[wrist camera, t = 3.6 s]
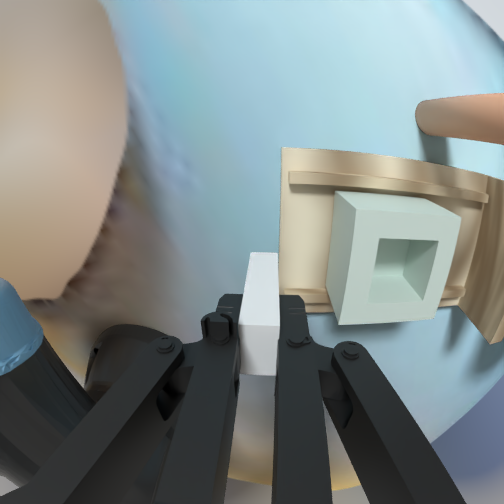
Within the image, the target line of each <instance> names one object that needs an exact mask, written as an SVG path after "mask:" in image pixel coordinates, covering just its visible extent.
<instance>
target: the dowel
mask: <svg viewBox="0 0 504 504" xmlns="http://www.w3.org/2000/svg"><path fill="white" fill-rule="evenodd" d="M415 118H416V122H417V124H418V126H419V128H420V129H421V130H422V132H424V133H425V134H427V135H430V136H440V137H451V138H460V139H468V140H476V141H483V142H489V143H495V144H501V145H504V93H494V94H478V95H466V96H456V97H447V98H439V99H432V100H425V101H422V102H420V103H419V104H418V106H417V108H416V111H415Z"/></svg>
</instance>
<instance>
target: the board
mask: <svg viewBox="0 0 504 504" xmlns="http://www.w3.org/2000/svg"><path fill="white" fill-rule="evenodd" d="M335 191H350V192H365V193H377V194H389V195H399V196H409V197H418V198H425V199H427V200H429V201H431V202H433V203H435V204H437V205H439V206H441V207H443V208H445V209H446V210H448V211H450V212H452V213H454V214H456V215H458V216H459V217H461V223H460V229H459V233H458V238H457V243H456V247H455V251H454V255H453V259H452V263H451V267H450V270H449V274H448V277H447V281H446V284H445V287H444V290H443V293H442V296H441V300H440V302H439V305H438V307H442V306H453V305H458V306H459V307H460V309H461V310H462V311H463V312H464V313H465V314H466V316H467V317H468V318H469V319H470V320H471V322H472V323H473V324H474V325H475V326H476V328H477V329H478V330H479V331H480V333H481V334H482V335H483V336H484V338H485V339H486V340H487V341H488V343H489V344H493V343H497V342H500V341H502V339H503V337H504V180H501V179H498V178H495V177H492V176H488V175H484V174H480V173H476V172H472V171H468V170H464V169H459V168H455V167H450V166H445V165H440V164H435V163H430V162H425V161H419V160H413V159H407V158H400V157H393V156H386V155H378V154H370V153H361V152H351V151H340V150H327V149H311V148H287V147H281V196H280V233H279V262H278V278H279V295H299V296H300V297H301V298H302V299H303V300H304V303H305V310H306V312H334V309H333V306H332V303H331V300H330V297H329V294H328V291H327V288H326V277H327V269H328V261H329V252H330V243H331V233H332V222H333V210H334V196H335Z"/></svg>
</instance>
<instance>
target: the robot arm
mask: <svg viewBox="0 0 504 504" xmlns="http://www.w3.org/2000/svg"><path fill="white" fill-rule="evenodd" d="M201 327H202V334H203V339H202V340H200V341H198V342H194V343H188V344H182V342H181V341H180V340H179V339H178V338H176V337H174V336H167V335H165V334H163V333H161V332H159V331H156V330H154V329H151V328H147V327H143V326H139V325H131V324H123V325H116V326H113V327H110V328H108V329H106V330H105V331H104V332H103V333H102V334H101V335H100V337H99V338H98V339H97V341H96V342H95V344H94V345H93V347H92V350H91V353H90V358H89V362H88V367H87V372H86V377H85V383H84V389H83V387H82V386H81V385H80V384H79V383H78V381H77V380H76V379H75V378H74V376H73V375H72V374H71V373H70V371H69V370H68V369H67V367H66V366H65V365H64V363H63V362H62V361H61V359H60V358H59V357H58V355H57V354H56V352H55V351H54V349H53V348H52V347H51V345H50V344H49V342H48V341H47V339H46V338H45V336H44V334H43V329H42V327H41V325H40V324H39V323H38V322H37V320H36V319H34V318H33V317H32V316H31V314H30V313H29V311H28V310H27V308H26V307H25V305H24V303H23V302H22V300H21V299H20V297H19V295H18V294H17V292H16V290H15V289H14V287H13V286H12V285H11V284H10V283H9V282H8V281H6V280H4V279H3V278H0V476H4V477H6V478H7V479H8V480H10V481H11V482H13V483H14V484H15V485H17V486H18V487H19V488H18V489H16V490H13V491H11V492H9V493H7V494H5V495H3V496H0V504H224V497H225V490H226V483H227V475H228V468H229V461H230V453H231V446H232V438H233V431H234V423H235V416H236V408H237V401H238V393H239V385H240V381H239V374H247V375H275V376H276V382H275V394H274V396H275V421H274V455H273V481H272V502H271V504H333V503H332V489H331V477H330V465H329V455H328V445H327V436H326V427H325V418H324V410H323V402H322V398H323V401H324V404H325V406H326V408H327V410H328V412H329V415H330V417H331V419H332V421H333V423H334V426H335V428H336V430H337V432H338V434H339V437H340V439H341V441H342V443H343V445H344V448H345V450H346V452H347V454H348V456H349V459H350V461H351V463H352V465H353V467H354V470H355V472H356V474H357V476H358V478H359V481H360V483H361V485H362V487H363V489H364V492H365V494H366V496H367V498H368V501H369V503H370V504H466V502H465V501H464V499H463V497H462V495H461V494H460V492H459V491H458V489H457V487H456V485H455V484H454V482H453V480H452V479H451V477H450V475H449V474H448V472H447V470H446V469H445V467H444V465H443V464H442V462H441V460H440V459H439V457H438V456H437V454H436V452H435V451H434V449H433V448H432V446H431V445H430V443H429V441H428V440H427V438H426V437H425V435H424V434H423V432H422V431H421V429H420V427H419V426H418V424H417V423H416V421H415V420H414V418H413V417H412V415H411V414H410V412H409V411H408V409H407V408H406V406H405V405H404V403H403V402H402V400H401V399H400V397H399V396H398V394H397V393H396V391H395V390H394V389H393V387H392V386H391V384H390V383H389V381H388V380H387V378H386V377H385V375H384V374H383V373H382V371H381V370H380V368H379V367H378V365H377V364H376V363H375V361H374V360H373V358H372V357H371V355H370V354H369V353H368V351H367V350H366V349H365V348H364V347H363V346H362V345H361V344H359V343H357V342H352V341H344V342H341V343H338V344H337V345H336V346H335V347H334V349H333V348H329V347H324V346H321V345H319V344H317V343H315V342H314V341H313V339H312V337H311V336H310V334H309V328H308V322H307V316H306V310H305V303H304V300H303V299H302V298H301V297H300V296H299V295H279V278H278V253H262V252H251V255H250V260H249V266H248V272H247V277H246V283H245V288H244V294H225V295H223V296H222V297H221V298H220V299H219V302H218V305H217V309H216V312H212V313H209V314H207V315H205V316H204V317H203V318H202V319H201Z"/></svg>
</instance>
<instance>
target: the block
mask: <svg viewBox="0 0 504 504" xmlns="http://www.w3.org/2000/svg"><path fill="white" fill-rule="evenodd" d="M460 223H461V217H459V216H458V215H456V214H454V213H452V212H450V211H448V210H446V209H445V208H443V207H441V206H439V205H437V204H435V203H433V202H431V201H429V200H427V199H425V198H418V197H409V196H399V195H389V194H377V193H365V192H350V191H335V196H334V210H333V222H332V233H331V243H330V252H329V261H328V269H327V277H326V288H327V291H328V294H329V297H330V300H331V303H332V306H333V309H334V312H335V315H336V318H337V321H338V325H352V324H374V323H390V322H404V321H416V320H426V319H434V317H435V314H436V311H437V308H438V305H439V302H440V300H441V296H442V293H443V290H444V287H445V284H446V281H447V277H448V274H449V270H450V267H451V263H452V259H453V255H454V251H455V247H456V243H457V238H458V233H459V229H460Z"/></svg>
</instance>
